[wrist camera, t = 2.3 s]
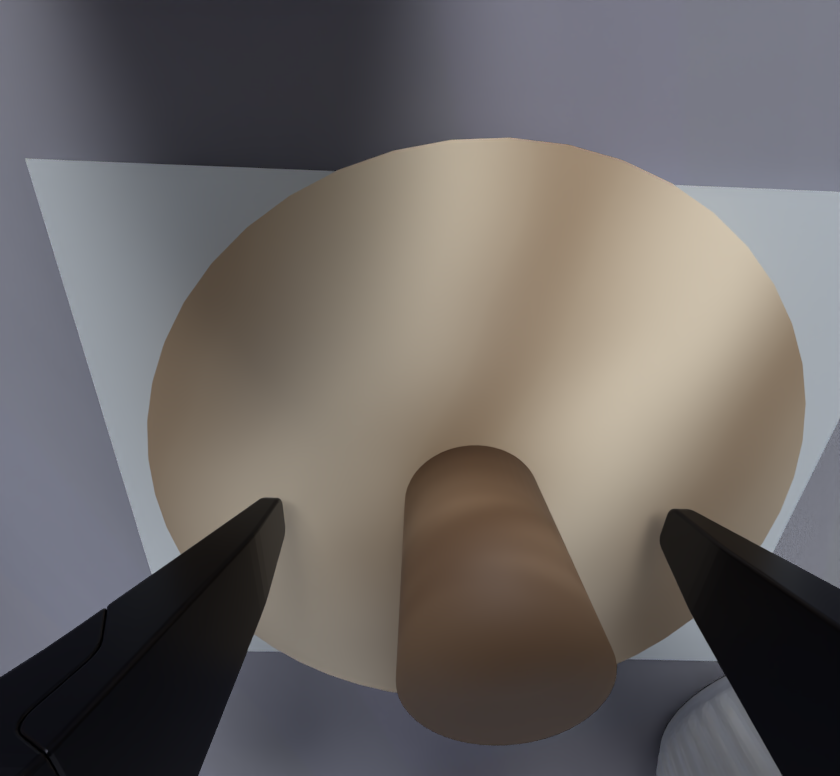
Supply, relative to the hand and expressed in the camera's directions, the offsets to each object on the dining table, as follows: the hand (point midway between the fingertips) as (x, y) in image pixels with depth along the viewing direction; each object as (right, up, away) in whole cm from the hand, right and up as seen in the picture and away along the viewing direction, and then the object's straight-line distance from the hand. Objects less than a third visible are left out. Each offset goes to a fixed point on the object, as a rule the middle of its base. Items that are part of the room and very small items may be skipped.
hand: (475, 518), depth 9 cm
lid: (0, +1, +1) cm, 2 cm away
